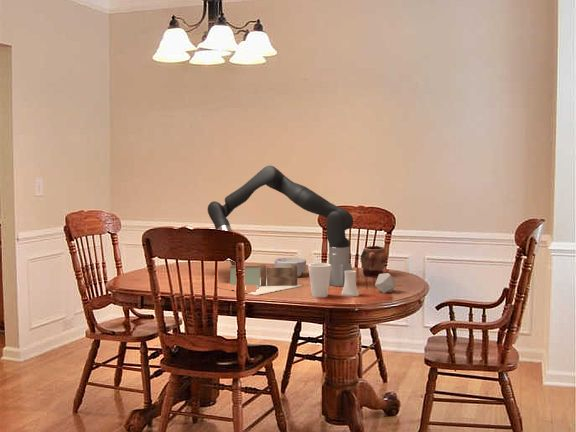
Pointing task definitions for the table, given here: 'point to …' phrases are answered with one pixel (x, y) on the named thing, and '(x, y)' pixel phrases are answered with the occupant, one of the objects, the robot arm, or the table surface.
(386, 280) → the die
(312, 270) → the foam cup
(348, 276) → the salt shaker
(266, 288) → the card
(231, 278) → the green rectangular panel
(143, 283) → the table surface
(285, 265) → the paper bowls
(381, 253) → the decorative planter
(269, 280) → the fence post and fixed section
